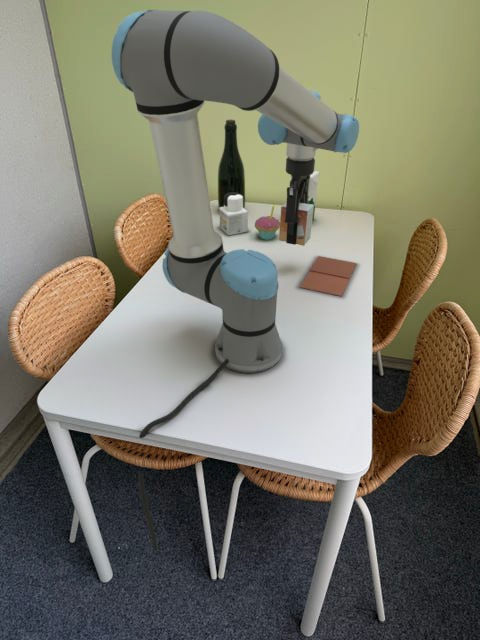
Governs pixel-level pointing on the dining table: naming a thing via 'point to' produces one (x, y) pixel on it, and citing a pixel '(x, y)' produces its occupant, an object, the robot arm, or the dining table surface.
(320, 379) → the dining table surface
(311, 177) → the milk carton
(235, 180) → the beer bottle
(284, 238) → the small box
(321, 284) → the napkin
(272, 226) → the cupcake
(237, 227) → the container
